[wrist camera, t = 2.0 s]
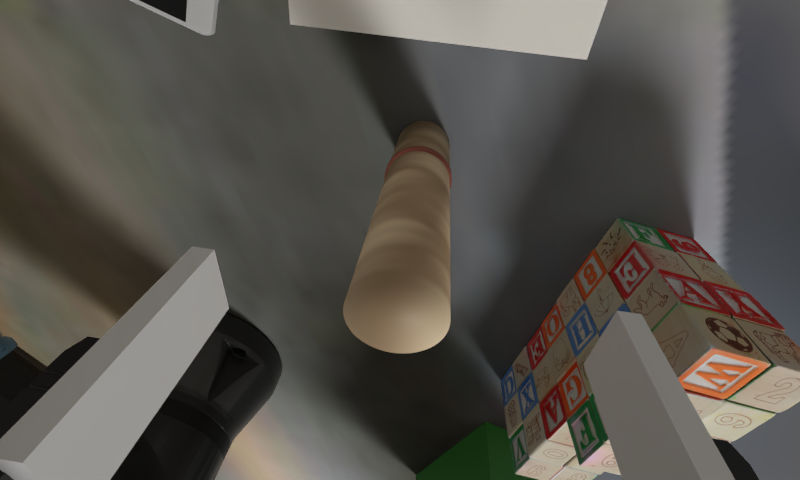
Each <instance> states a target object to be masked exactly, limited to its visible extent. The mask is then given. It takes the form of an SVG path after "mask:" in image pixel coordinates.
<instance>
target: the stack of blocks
mask: <svg viewBox="0 0 800 480" xmlns="http://www.w3.org/2000/svg"><path fill="white" fill-rule="evenodd" d="M616 311H623V312H630V313H637V314H642V316H643V318H644V319H645V321H646V323H647V325H648V327H649V328H650V330H651V332H652V334H653V335H654V337H655V339H656V341H657V342H658V344H659V346H660V348H661V349H662V351H663V353H664V355H665V357H666V358H667V360H668V362H669V364H670V365H671V367H672V369H673V371H674V372H675V374H676V376H677V378H678V380H679V381H680V383H681V385H682V387H683V388H684V390H685V392H686V394H687V395H688V397H689V399H690V401H691V402H692V404H693V406H694V408H695V410H696V411H697V413H698V415H699V417H700V418H701V420H702V422H703V424H704V425H705V427H706V429H707V431H708V433H709V434H710V436H711V438H713V439H719V440H725V441H728V442H729V443H731V441H735V440H737V439H738V438H740V437H742V436H743V435H745V434H746V433H748V432H750V431H751V430H752V429H754V428H756V427H757V426H759V425H760V424H762V423H764V422H765V421H767V420H769V419H770V418H772V417H773V416H774V415H775V414H776V412H782V411H784V410H786V409H788V408H790V407H791V406H793V405H795V404H796V403H798V402H799V401H800V348H799V347H798V346H797V345H796V344H795V343H794V342H793V341H792V340H791V339H790V338H789V337H788V336H787V335H786V334H785V333H784V330H785V329H784V328H783V326H781V325H780V324H779V323H778V322H777V320H776V319H775V318H774V317H772V316H771V314H769V312H768V311H767V310H766V309H764V308H763V307H762V306H761V304H760V303H759V302H757V301H756V300H755V299H754V298H753V297H752V296H751V295H750V294H749V293H747V292H746V291H745V290H744V289H743V288H742V287H741V286H740V285H739V284H738V283H737V282H736V281H734V279H733V278H732V277H730V276H729V275H728V274H727V273H726V272H725V271H724V270H723V269H722V268H721V267H720V266H719V265H718V264H717V262H716V261H715V260H714V259H713V258H712V257H711V256H710V255H709V254H708V253H707V252H706V251H705V250H704V249H703V248H702V247H701V246H700V245H699V244H698V243H697V242H696V241H695V240H694V239H692V238H688V237H685V236H681V235H678V234H674V233H671V232H667V231H664V230H660V229H655V228H651V227H648V226H644V225H641V224H638V223H634V222H631V221H627V220H624V219H621V218H617V219H616V220H615V222H614V223H613V224H612V226H611V227H610V229H609V230H608V231H607V233H606V234H605V235H604V237H603V238H602V240H601V241H600V242H599V244H598V245H597V246H596V248H595V249H593V250H592V252H591V253H590V255H589V256H588V257H587V259H586V260H585V261H584V263H583V264H582V266H581V267H580V268H579V270H578V271H577V273H576V274H575V275H574V277H573V278H572V280H571V281H570V282H569V283H568V285H567V286H566V288H565V289H564V290H563V292H562V293H561V295H560V296H559V298H558V299H557V301H556V304H555V305H554V306H553V308H552V310H551V311H550V313H549V314H548V315H547V317H546V318H545V319H544V321H543V322H542V324H541V326H540V327H539V329H538V330H537V331H536V333H535V334H534V336H533V337H532V339H531V340H530V341H529V343H528V345H527V346H525V347H524V348H523V350H522V351H521V353H520V354H519V355H518V357H517V358H516V359H515V361H514V362H513V365H511V367H510V368H509V370H508V371H507V372H506V374H505V375H504V377H503V378H502V380H501V387H502V395H503V403H504V407H505V408H504V411H505V419H506V426H507V433H508V437H509V438H510V446H511V452H512V460H513V467H514V473H515V474H518V475H522V476H526V477H530V478H534V479H538V480H592V479H594V478H595V477H596V476H597V475H598V474H602V473H603V472H604V471H605V472H609V473H614V474H618V475H621V474H620V471H619V468H618V465H617V462H616V459H615V456H614V453H613V450H612V447H611V444H610V441H609V438H608V435H607V432H606V429H605V426H604V424H603V421H602V418H601V415H600V412H599V409H598V406H597V403H596V400H595V397H594V394H593V391H592V388H591V385H590V382H589V379H588V376H587V373H586V370H585V367H584V365H583V364H584V362H585V361H586V359H587V358H588V356H589V354H590V353H591V351H592V350H593V348H594V346H595V345H596V343H597V342H598V340H599V338H600V337H601V335H602V333H603V332H604V330H605V329H606V327H607V325H608V324H609V322H610V321H611V319H612V317H613V316H614V314H615V313H616Z"/></svg>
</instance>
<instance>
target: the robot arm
mask: <svg viewBox="0 0 800 480" xmlns="http://www.w3.org/2000/svg"><path fill="white" fill-rule="evenodd" d="M228 309H229V306H228V302H227V298H226V294H225V290H224V286H223V282H222V278H221V274H220V270H219V266H218V262H217V258H216V254H215V251H214V250H213V249H206V248H199V247H193V246H192V247H191V248H190V249H189V250H188V251H187V252H186V253H185V254H184V255H183V256H182V257H181V258H180V259H179V260H178V261H177V262H176V263H175V264H174V265H173V266H172V267H171V268H170V269H169V270H168V271H167V272H166V273H165V274H164V275H163V276H162V277H161V278H160V279H159V280H158V281H157V282H156V283H155V284H154V285H153V286H152V287H151V288H150V289H149V290H148V291H147V292H146V293H145V294H144V295H143V296H142V297H141V298H140V299H139V300H138V301H137V302H136V303H135V304H134V305H133V306H132V307H131V308H130V309H129V310H128V311H127V312H126V313H125V314H124V315H123V316H122V317H121V318H120V319H119V320H118V321H117V322H116V323H115V324H114V325H113V326H112V327H111V328H110V329H109V330H108V331H107V332H106V333H105V334H104V335H103V336H102V337H101V338H100V339H99V338H93V337H87V338H85V339H83V340H82V341H80V342H78V343H77V344H75V345H73V346H72V347H70V348H68V349H67V350H65V351H64V352H63V353H62V354H61V355H60V356H59V357H57V358H56V359H55V360H54V361H53V362H52V363H51V364H50V365H49V366H48V367H47V366H45V365H44V364H43V363H41V362H40V361H38V360H37V359H35V358H34V357H33V356H31V355H30V354H28V353H27V352H25V351H24V350H23V349H21V348H20V347H18V346H17V345H18V344H17V343H16V342H15V341H14V340H13V339H12V338H11V337H6V336H1V335H0V480H215V478H216V476H217V473H218V471H219V469H220V467H221V465H222V463H223V460H224V458H225V456H226V454H227V452H228V450H229V448H230V446H231V444H232V442H233V440H234V439H235V437H236V436H237V435H238V434H239V433H240V432H241V430H242V429H243V428H244V427H245V426H246V425H247V424H248V422H249V421H250V420H251V419H252V418H253V417H254V416H255V414H256V413H257V412H258V411H259V410H260V409H261V408H262V406H263V405H264V404H265V403H266V402H267V401H268V399H269V398H270V397H271V395H272V394H273V392H274V390H275V387H276V385H277V383H278V381H279V378H280V376H281V372H282V364H281V360H280V357H279V355H278V353H277V351H276V350H275V348H274V347H273V345H272V344H271V343H270V342H269V341H268V340H267V338H266V337H264V336H263V335H262V334H261V333H260V332H259V331H257V330H256V329H255V328H253V327H252V326H250V325H249V324H247V323H245V322H244V321H242V320H240V319H238V318H236V317H234V316H231V315H229V314H226V312H227V311H228ZM583 365H584V367H585V370H586V373H587V376H588V379H589V382H590V385H591V388H592V391H593V394H594V397H595V400H596V403H597V406H598V409H599V412H600V415H601V418H602V421H603V424H604V426H605V429H606V432H607V435H608V438H609V441H610V444H611V447H612V450H613V453H614V456H615V459H616V462H617V465H618V468H619V471H620V474H621V476H622V479H623V480H759V479H758V477H757V476H756V474H755V472H754V471H753V469H752V467H751V466H750V464H749V463H748V462H747V461H746V460H745V459H744V458H743V457H742V456H741V455H740V454H739V453H738V451H736V449H735V448H734V447H733V446H732V445H731V444H730V443H729V442H728V441H725V440H719V439H713V438H711V436H710V434H709V433H708V431H707V429H706V427H705V425H704V424H703V422H702V420H701V418H700V417H699V415H698V413H697V411H696V410H695V408H694V406H693V404H692V402H691V401H690V399H689V397H688V395H687V394H686V392H685V390H684V388H683V387H682V385H681V383H680V381H679V380H678V378H677V376H676V374H675V372H674V371H673V369H672V367H671V365H670V364H669V362H668V360H667V358H666V357H665V355H664V353H663V351H662V349H661V348H660V346H659V344H658V342H657V341H656V339H655V337H654V335H653V334H652V332H651V330H650V328H649V327H648V325H647V323H646V321H645V319H644V318H643V316H642V314H637V313H630V312H623V311H616V313H615V314H614V316H613V317H612V319H611V321H610V322H609V324H608V325H607V327H606V329H605V330H604V332H603V333H602V335H601V337H600V338H599V340H598V342H597V343H596V345H595V346H594V348H593V350H592V351H591V353H590V354H589V356H588V358H587V359H586V361H585V362H584V364H583Z"/></svg>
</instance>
